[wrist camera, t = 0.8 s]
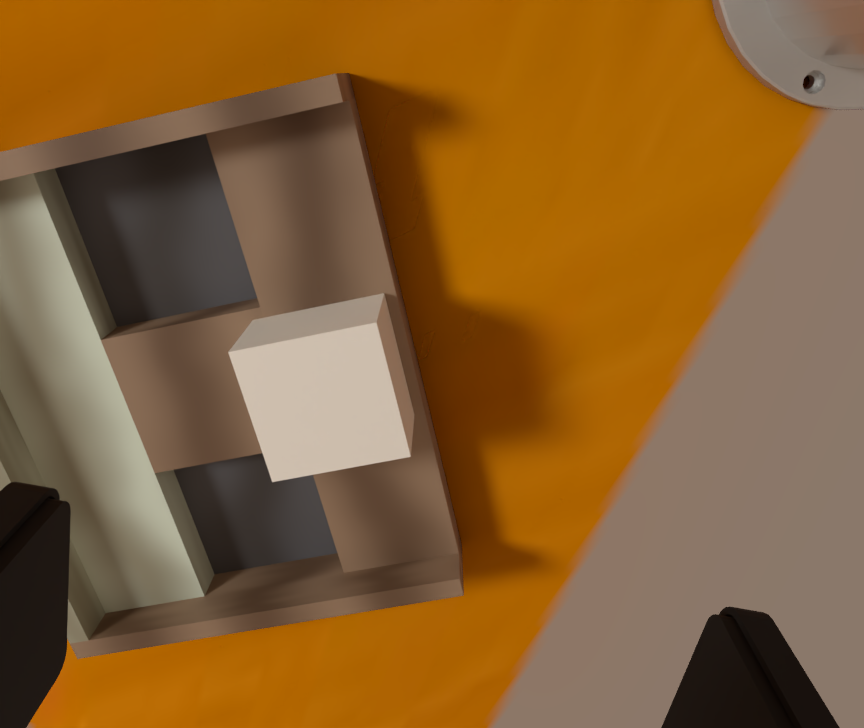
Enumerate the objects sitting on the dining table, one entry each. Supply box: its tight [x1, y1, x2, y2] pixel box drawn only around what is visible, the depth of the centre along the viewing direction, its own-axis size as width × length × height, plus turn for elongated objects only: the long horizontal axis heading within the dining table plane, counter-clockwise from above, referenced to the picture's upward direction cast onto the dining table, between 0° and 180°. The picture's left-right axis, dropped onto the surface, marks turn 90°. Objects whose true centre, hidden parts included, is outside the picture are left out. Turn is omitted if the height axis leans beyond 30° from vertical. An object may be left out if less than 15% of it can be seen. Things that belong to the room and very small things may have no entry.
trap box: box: [0, 73, 464, 659], centre depth 34 cm, size 20×24×4 cm
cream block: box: [228, 293, 414, 482], centre depth 31 cm, size 6×6×4 cm
